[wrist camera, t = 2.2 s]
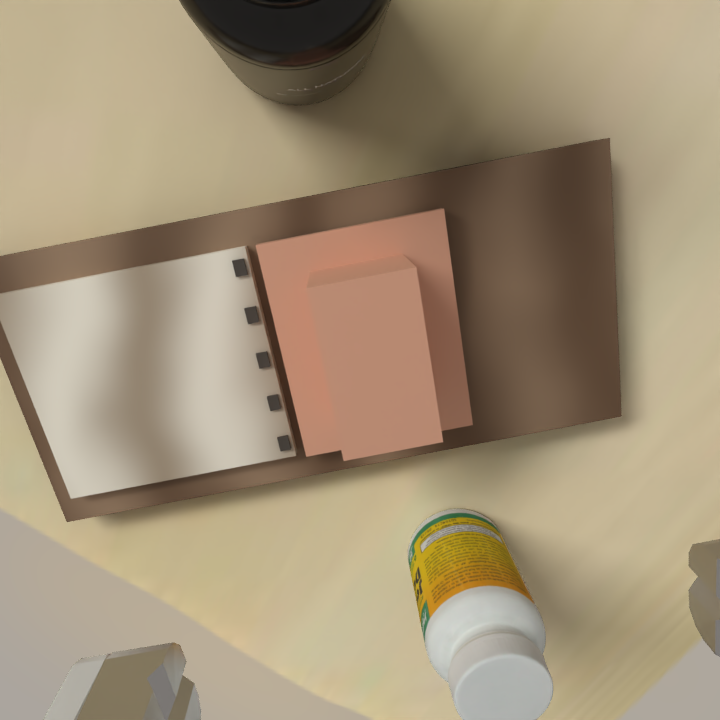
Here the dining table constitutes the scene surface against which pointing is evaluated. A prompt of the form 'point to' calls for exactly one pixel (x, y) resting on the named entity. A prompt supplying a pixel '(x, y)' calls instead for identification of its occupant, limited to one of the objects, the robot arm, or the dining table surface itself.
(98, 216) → the dining table surface
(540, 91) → the dining table surface
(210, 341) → the ticket board
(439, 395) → the stub
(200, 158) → the dining table surface
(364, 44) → the supplement bottle
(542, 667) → the supplement bottle
